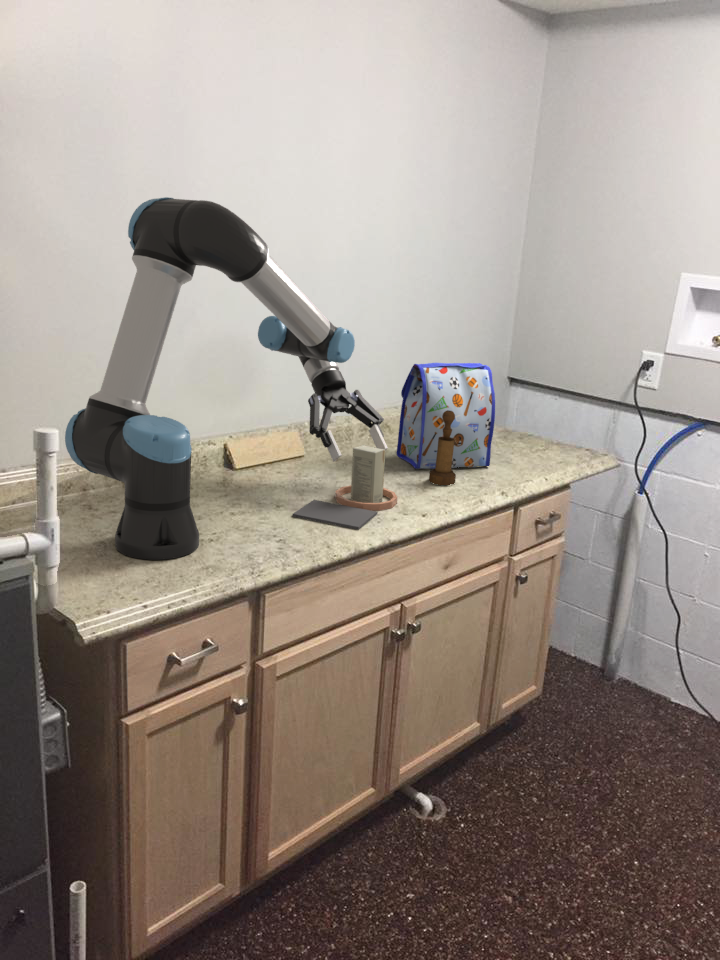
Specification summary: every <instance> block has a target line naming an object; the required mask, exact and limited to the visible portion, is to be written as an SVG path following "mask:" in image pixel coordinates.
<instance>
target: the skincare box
mask: <svg viewBox="0 0 720 960" xmlns="http://www.w3.org/2000/svg"><path fill="white" fill-rule="evenodd" d="M385 460H386V451H385V449H380V448H376V446H375V447H374V446H369V445H365V444H362V445H360V446H355V447H353V448H352V459H351V464H352V465H351V480H350V481H351V482H350V483H351V484H350V485H351V493H350V500H352V501H357V502H362V503H381V502H383V499H384V498H383V497H384V496H383V488H384V480H385V479H384V478H385V462H386V461H385Z"/></svg>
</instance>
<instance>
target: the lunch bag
mask: <svg viewBox="0 0 720 960" xmlns="http://www.w3.org/2000/svg"><path fill="white" fill-rule="evenodd" d="M400 395H401V398H402V401H401V408H400V416H399V426H398V427H399V428H398V433H397V435H398V436H397V437H398V438H397V446H396V456H397V457H398V458H399V459H401V460H403V461H405V462H407V463H408V464H410V465H412V467H413V468H414V469H415V470H418V469H421V470H422V469H424V470H428V469H431V470H433V469H434V468H435V466H436V458H437V449H438V439H439V437H444V436H443V428H444V427H445V423H444V421H443V418H442V416H443V413H444V412H445V411H447V410H449V411H453V412H454V414H455V419H454V421H453V422H452V424H451V429H452V433H451V435H450V437H451V438H453V439H455V441H454V449H453V458H452V466H451V469H455V468H457V467H458V468H459V467H468V468H477V467H476V466H489V467H490V466H491V456H492V455H491V453H492V452H491V451H492V449H491V448H492V442H493V441H492V440H493V435H494V429H495V419H496V393H495V387H494V383H493V372H492V369H491V367H490V366H488V365H487V364H482V363H480V362H476V363H475V362H472V363H471V362H467V363H465V362H464V363H463V362H462V363H460V362H454V363H453V362H451V363H447V362H446V363H445V362H428V363H419V364H418V363H414V364H413V365H412V367H411V369H410V371H409V373H408V375H407V377H406V379H405V381H404V383H403V386H402V388H401V393H400ZM459 469H460V468H459Z"/></svg>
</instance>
